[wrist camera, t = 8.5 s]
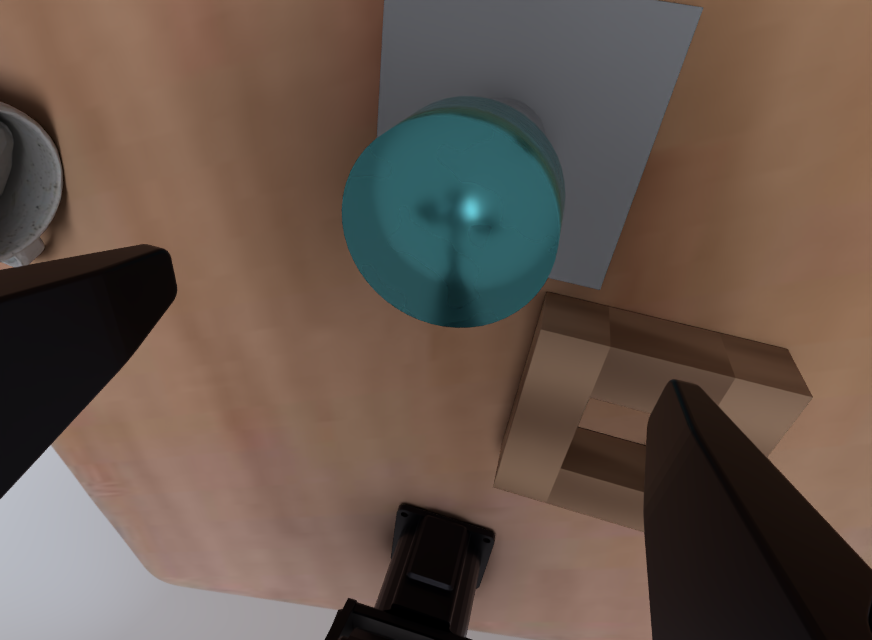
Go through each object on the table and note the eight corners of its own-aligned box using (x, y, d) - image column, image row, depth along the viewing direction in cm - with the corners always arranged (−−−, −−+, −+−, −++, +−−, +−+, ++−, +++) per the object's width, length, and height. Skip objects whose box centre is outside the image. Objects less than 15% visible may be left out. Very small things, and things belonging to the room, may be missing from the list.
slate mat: (599, 283, 21) (599, 289, 21) (376, 230, 23) (371, 236, 22) (700, 6, 16) (703, 7, 15) (392, -41, 17) (386, -41, 16)
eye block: (688, 496, 27) (697, 548, 24) (502, 443, 28) (493, 487, 26) (787, 349, 21) (813, 397, 18) (546, 291, 22) (541, 329, 20)
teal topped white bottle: (594, 81, 17) (589, 144, 10) (553, 224, 20) (528, 349, 13) (444, 53, 18) (344, 94, 11) (426, 195, 21) (340, 299, 14)
